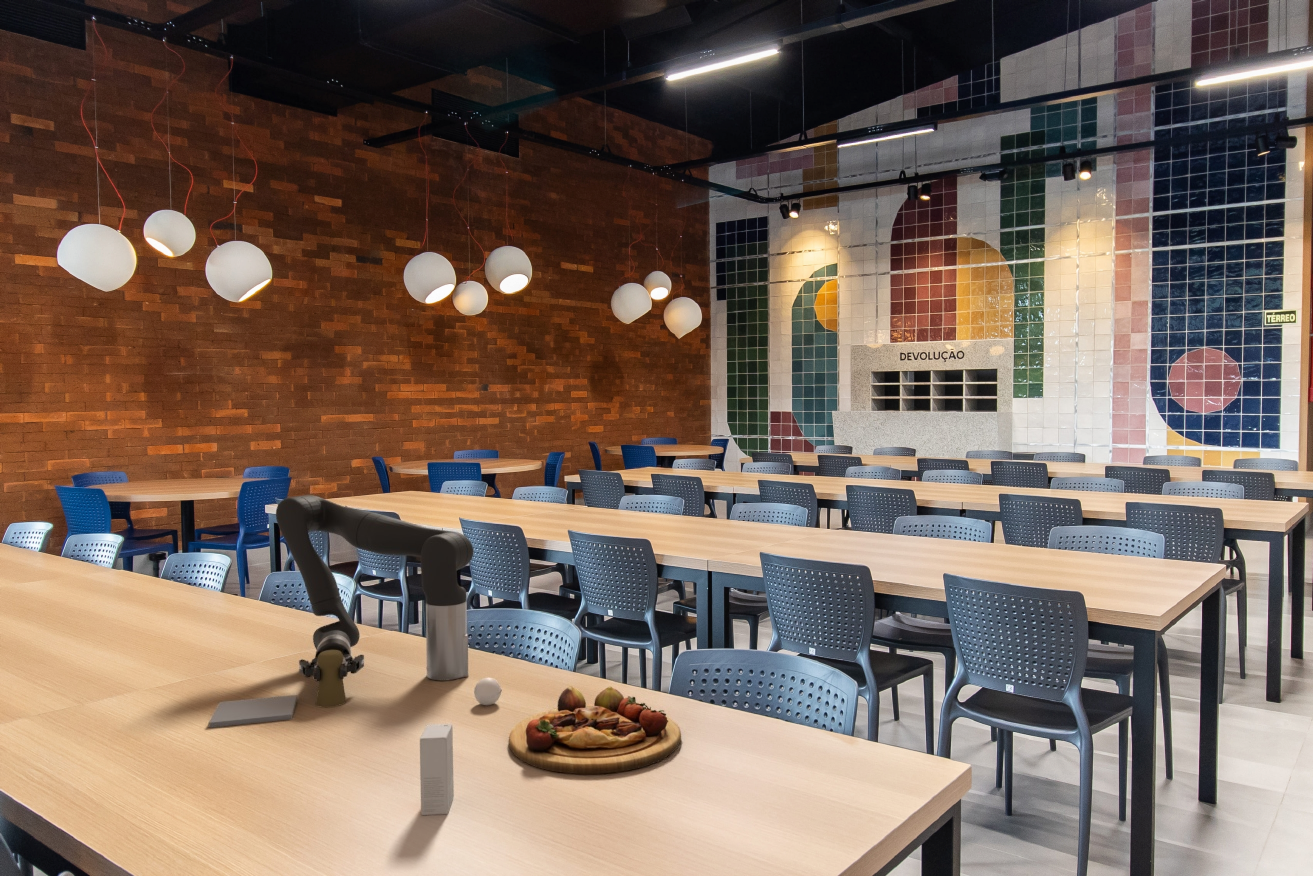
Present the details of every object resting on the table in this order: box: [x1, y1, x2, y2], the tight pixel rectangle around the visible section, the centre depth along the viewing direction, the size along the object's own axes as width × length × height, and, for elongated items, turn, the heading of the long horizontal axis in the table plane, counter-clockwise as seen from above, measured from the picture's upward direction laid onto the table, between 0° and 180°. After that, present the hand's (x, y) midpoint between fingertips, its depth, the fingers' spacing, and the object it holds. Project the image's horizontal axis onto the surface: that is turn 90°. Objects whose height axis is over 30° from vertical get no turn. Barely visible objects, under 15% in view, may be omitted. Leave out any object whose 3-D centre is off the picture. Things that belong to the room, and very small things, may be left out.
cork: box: [315, 650, 347, 708], centre depth 186 cm, size 6×6×11 cm
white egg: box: [473, 677, 502, 706], centre depth 186 cm, size 8×6×6 cm
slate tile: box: [208, 694, 298, 728], centre depth 180 cm, size 15×13×1 cm
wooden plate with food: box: [508, 686, 682, 775], centre depth 164 cm, size 32×32×8 cm
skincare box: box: [419, 723, 455, 816], centre depth 137 cm, size 6×4×12 cm
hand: (330, 675), depth 184 cm, fingers closed on cork, 4 cm apart
